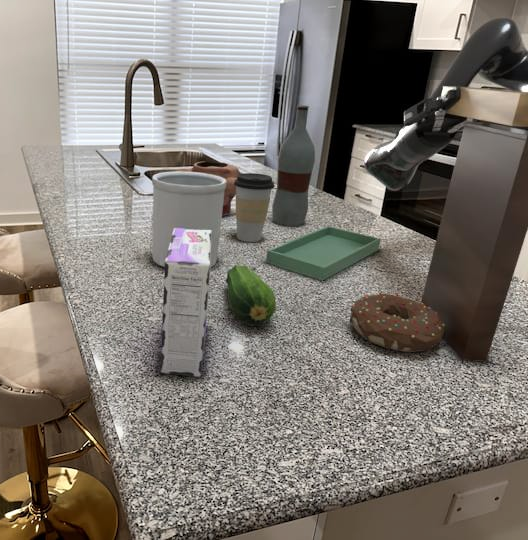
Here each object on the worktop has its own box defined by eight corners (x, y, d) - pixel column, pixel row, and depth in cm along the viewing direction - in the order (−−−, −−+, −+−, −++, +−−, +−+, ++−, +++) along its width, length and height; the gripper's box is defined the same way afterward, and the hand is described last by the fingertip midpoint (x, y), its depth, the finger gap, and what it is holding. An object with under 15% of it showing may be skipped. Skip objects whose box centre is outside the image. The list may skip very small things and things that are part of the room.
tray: (326, 236, 128) (328, 225, 126) (378, 250, 119) (380, 238, 118) (265, 262, 109) (267, 250, 108) (322, 281, 101) (324, 267, 100)
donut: (334, 315, 87) (339, 288, 85) (411, 315, 88) (418, 288, 86) (371, 361, 74) (378, 330, 72) (461, 360, 75) (470, 330, 73)
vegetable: (248, 283, 77) (233, 241, 95) (223, 320, 79) (213, 273, 98) (289, 305, 78) (266, 259, 96) (263, 341, 80) (246, 290, 99)
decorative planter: (171, 217, 138) (173, 166, 133) (170, 206, 149) (172, 157, 144) (245, 220, 139) (250, 168, 133) (238, 208, 150) (242, 160, 145)
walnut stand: (438, 312, 89) (488, 122, 77) (486, 361, 75) (557, 136, 63) (418, 311, 90) (465, 121, 78) (461, 359, 75) (527, 135, 63)
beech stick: (464, 112, 85) (470, 87, 84) (547, 127, 65) (557, 94, 64) (437, 111, 86) (443, 86, 84) (511, 126, 65) (520, 93, 64)
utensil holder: (171, 243, 118) (174, 167, 112) (230, 256, 112) (238, 176, 105) (136, 262, 106) (137, 178, 100) (200, 278, 100) (206, 189, 93)
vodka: (304, 218, 142) (320, 105, 131) (307, 228, 133) (324, 108, 122) (270, 216, 143) (283, 103, 132) (270, 225, 135) (284, 106, 124)
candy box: (169, 325, 81) (173, 226, 75) (206, 328, 81) (213, 228, 75) (158, 374, 68) (162, 259, 62) (202, 378, 68) (211, 262, 62)
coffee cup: (242, 246, 118) (248, 181, 113) (222, 234, 126) (226, 173, 121) (276, 242, 122) (283, 179, 116) (254, 230, 130) (260, 171, 124)
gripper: (385, 116, 96) (427, 67, 79) (462, 119, 95) (522, 71, 79) (385, 154, 95) (428, 113, 78) (463, 158, 94) (524, 117, 78)
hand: (475, 92), depth 78 cm, fingers closed on beech stick, 4 cm apart
